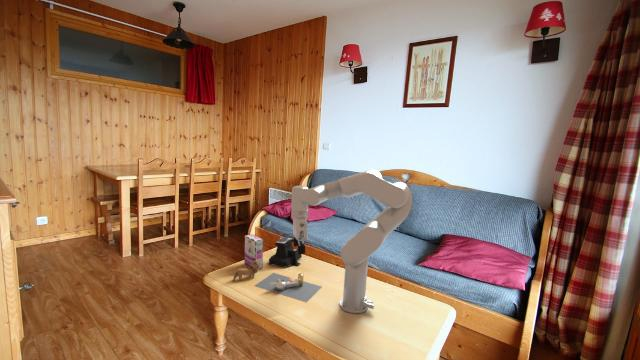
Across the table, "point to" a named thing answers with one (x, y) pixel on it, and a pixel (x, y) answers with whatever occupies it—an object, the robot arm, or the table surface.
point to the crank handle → (282, 284)
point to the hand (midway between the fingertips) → (299, 249)
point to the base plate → (295, 292)
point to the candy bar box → (253, 250)
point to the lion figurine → (247, 271)
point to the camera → (285, 253)
